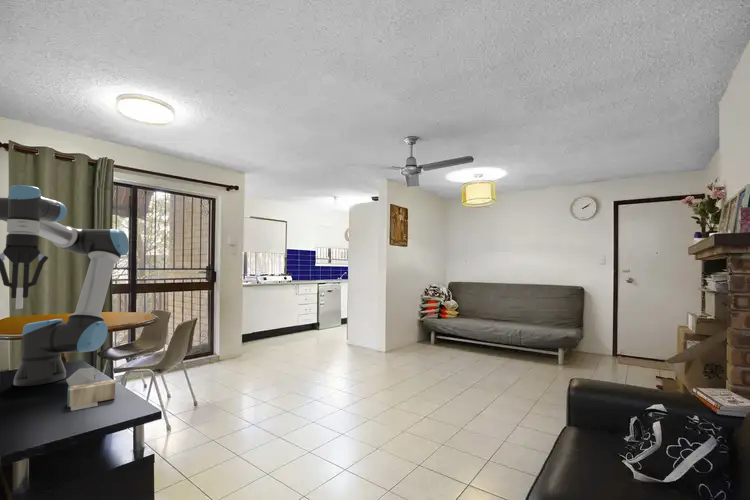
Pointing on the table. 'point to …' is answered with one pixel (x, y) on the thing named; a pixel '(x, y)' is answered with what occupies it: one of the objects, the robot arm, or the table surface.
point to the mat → (84, 406)
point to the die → (83, 377)
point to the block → (90, 393)
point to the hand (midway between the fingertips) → (19, 308)
